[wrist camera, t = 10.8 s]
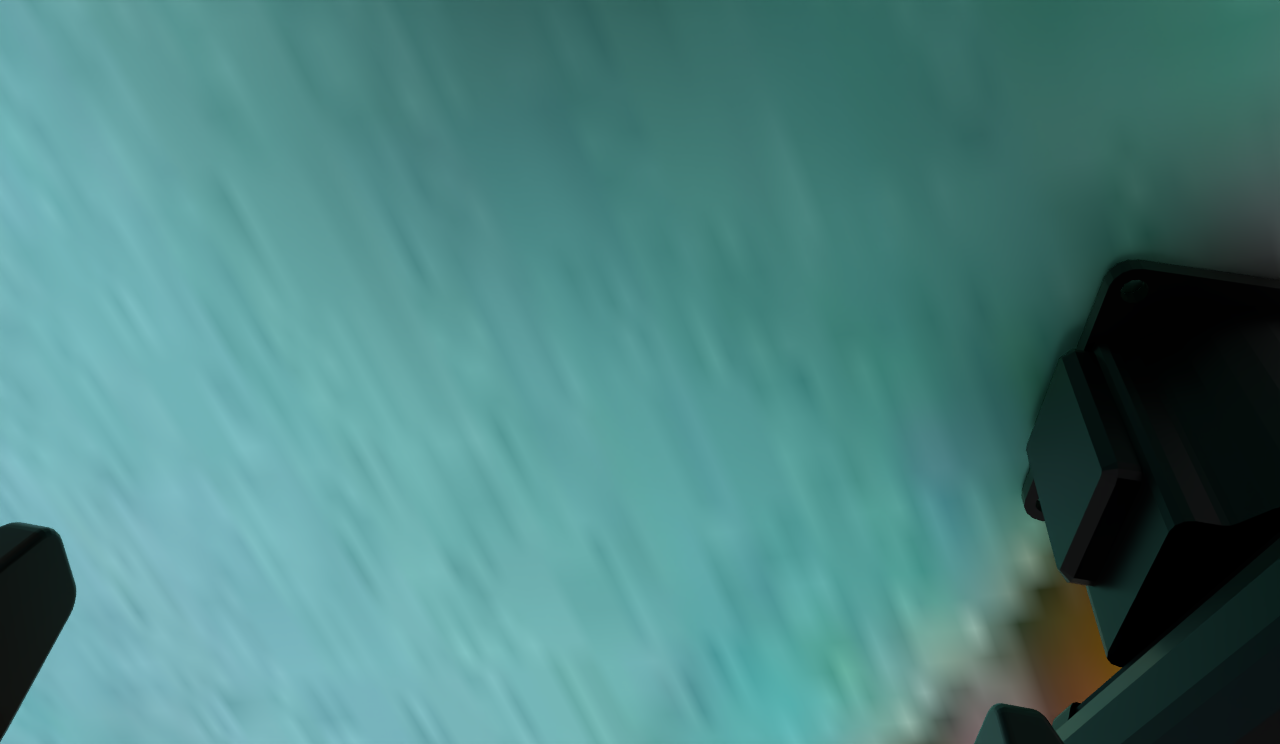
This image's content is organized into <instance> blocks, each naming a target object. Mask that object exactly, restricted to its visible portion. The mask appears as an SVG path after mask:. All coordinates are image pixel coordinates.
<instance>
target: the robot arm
mask: <svg viewBox="0 0 1280 744" xmlns="http://www.w3.org/2000/svg"><path fill="white" fill-rule="evenodd" d="M1132 280H1141V281H1143V285H1142V286H1141V287H1140V288H1139V290H1137V291H1135V292H1133V293H1123V292H1121V289H1122V287H1123V286H1124V285H1125V284H1126V283H1128V282H1130V281H1132ZM1026 452H1027V455H1028V459H1029V463H1030V467H1031V468H1030V470H1029V473H1028V475H1027V478H1026V481H1025V483H1024V486H1023V488H1022V495H1021V496H1022V500H1023V504H1024V508H1025V510H1026V512H1027V514H1029V515H1030V516H1031V517H1032V518H1034V519H1037V520H1040V521H1045V523H1046V527H1047V531H1048V535H1049V538H1050V542H1051V546H1052V550H1053V553H1054V557H1055V561H1056V565H1057V568H1058V570H1059V572H1060V573H1061V574H1062V576H1063V577H1064V578H1065V580H1066V581H1067V582H1069V583H1075V584H1081V585H1086V588H1087V592H1088V595H1089V598H1090V602H1091V605H1092V609H1093V612H1094V616H1095V619H1096V622H1097V626H1098V629H1099V633H1100V636H1101V639H1102V643H1103V646H1104V650H1105V653H1106V657H1107V659H1108V660H1109V662H1110V663H1111V664H1113V665H1116V666H1118V667H1123V668H1121V669H1120V670H1119V671H1118V672H1117V673H1116V674H1115V675H1113V676H1112V677H1111V678H1110V679H1109V680H1108V681H1106V682H1105V683H1104V684H1103V685H1102V686H1101V687H1100V688H1098V689H1097V690H1096V691H1095V692H1094V693H1093V694H1091V695H1090V696H1089V697H1088V698H1087V699H1086V700H1085V701H1083V702H1082V703H1077V702H1075V703H1072V704H1071V705H1070V706H1069V707H1067V708H1066V709H1065V710H1064V711H1063V712H1062V713H1061V714H1059V715H1058V716H1057V717H1056V718H1055V719H1054V721H1053V725H1052V726H1051V724H1050V723H1049V721H1048V720H1047V719H1046V717H1045V716H1044V715H1042V714H1041V713H1040V712H1038V711H1037V710H1034V709H1030V708H1024V707H1019V706H1013V705H1008V704H1003V703H999V704H995V705H993V706H992V707H991V708H990V710H989V711H988V713H987V715H986V718H985V720H984V722H983V725H982V727H981V729H980V731H979V734H978V736H977V738H976V741H975V743H974V744H1280V280H1276V279H1269V278H1262V277H1255V276H1248V275H1241V274H1234V273H1227V272H1220V271H1214V270H1207V269H1200V268H1193V267H1186V266H1179V265H1172V264H1165V263H1158V262H1151V261H1145V260H1126V261H1123V262H1121V263H1118V264H1116V265H1115V266H1114V267H1112V268H1111V269H1110V270H1109V271H1108V272H1107V274H1106V276H1105V277H1104V279H1103V282H1102V284H1101V287H1100V289H1099V292H1098V295H1097V297H1096V300H1095V302H1094V305H1093V308H1092V310H1091V313H1090V315H1089V318H1088V320H1087V323H1086V326H1085V328H1084V331H1083V333H1082V336H1081V339H1080V341H1079V344H1078V346H1077V349H1076V350H1075V349H1072V350H1071V351H1069V352H1068V353H1066V354H1065V355H1063V356H1062V357H1061V358H1060V359H1059V361H1058V364H1057V367H1056V369H1055V372H1054V375H1053V377H1052V380H1051V383H1050V385H1049V388H1048V391H1047V393H1046V396H1045V398H1044V401H1043V404H1042V406H1041V409H1040V412H1039V414H1038V417H1037V420H1036V422H1035V425H1034V427H1033V430H1032V433H1031V435H1030V438H1029V441H1028V443H1027V447H1026ZM1038 499H1039V500H1038ZM75 599H76V585H75V581H74V578H73V575H72V571H71V568H70V565H69V562H68V558H67V555H66V552H65V548H64V545H63V542H62V539H61V537H60V535H59V534H58V533H57V532H56V531H55V530H54V529H51V528H49V527H43V526H38V525H32V524H27V523H20V522H15V523H9V524H6V525H4V526H1V527H0V741H1V740H2V738H3V736H4V735H5V733H6V731H7V730H8V728H9V726H10V724H11V722H12V720H13V719H14V717H15V715H16V713H17V711H18V709H19V708H20V706H21V704H22V702H23V700H24V698H25V697H26V695H27V693H28V691H29V689H30V687H31V686H32V684H33V682H34V680H35V678H36V676H37V675H38V673H39V671H40V669H41V667H42V665H43V664H44V662H45V660H46V658H47V656H48V654H49V653H50V651H51V649H52V647H53V645H54V643H55V642H56V640H57V638H58V636H59V634H60V632H61V631H62V629H63V627H64V625H65V623H66V621H67V620H68V618H69V616H70V614H71V612H72V610H73V607H74V604H75Z"/></svg>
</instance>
